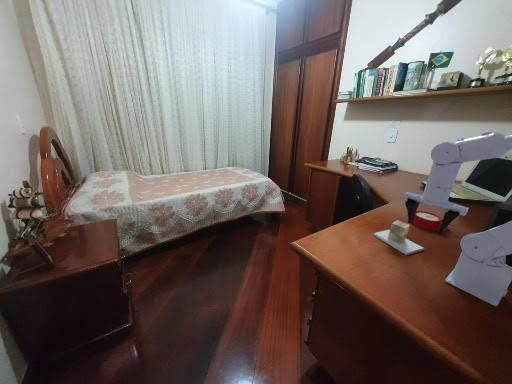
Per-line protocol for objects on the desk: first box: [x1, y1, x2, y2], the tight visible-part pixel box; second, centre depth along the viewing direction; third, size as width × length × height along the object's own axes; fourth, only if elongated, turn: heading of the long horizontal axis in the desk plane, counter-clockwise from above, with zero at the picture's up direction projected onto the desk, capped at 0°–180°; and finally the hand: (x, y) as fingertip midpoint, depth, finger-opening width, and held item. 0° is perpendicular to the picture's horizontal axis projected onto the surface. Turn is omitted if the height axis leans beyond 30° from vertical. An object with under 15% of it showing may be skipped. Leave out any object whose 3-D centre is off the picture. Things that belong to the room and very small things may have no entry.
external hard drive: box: [373, 229, 425, 256], centre depth 72 cm, size 2×8×12 cm
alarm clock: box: [406, 210, 458, 232], centre depth 83 cm, size 10×6×15 cm
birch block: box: [388, 219, 411, 244], centre depth 71 cm, size 4×4×6 cm
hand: (424, 227), depth 63 cm, fingers open, 7 cm apart
